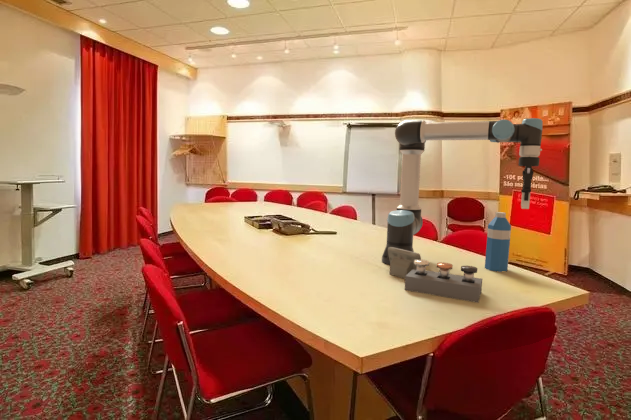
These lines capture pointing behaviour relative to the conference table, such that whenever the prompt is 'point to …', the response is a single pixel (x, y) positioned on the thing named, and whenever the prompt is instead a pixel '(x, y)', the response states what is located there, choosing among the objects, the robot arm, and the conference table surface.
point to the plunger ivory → (421, 266)
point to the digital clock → (402, 261)
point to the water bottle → (498, 243)
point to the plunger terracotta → (444, 270)
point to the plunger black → (468, 273)
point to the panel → (444, 285)
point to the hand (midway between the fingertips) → (524, 207)
